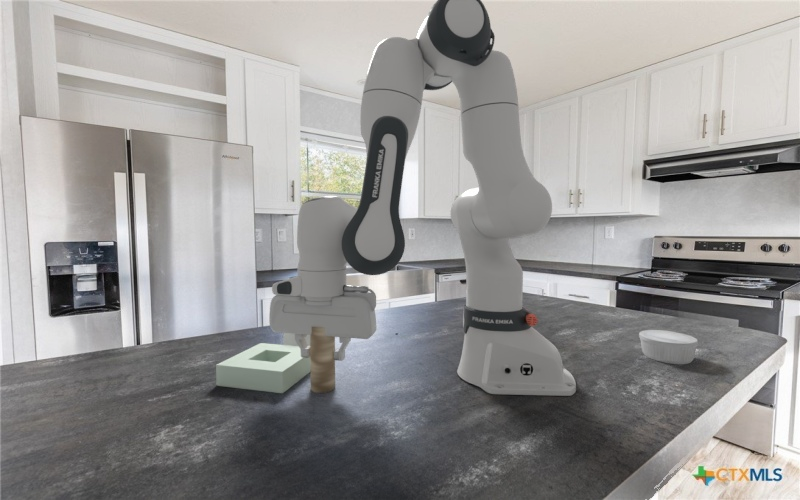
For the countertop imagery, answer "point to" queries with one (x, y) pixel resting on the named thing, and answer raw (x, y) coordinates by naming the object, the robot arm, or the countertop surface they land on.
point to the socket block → (264, 368)
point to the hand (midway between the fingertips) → (322, 358)
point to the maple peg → (322, 361)
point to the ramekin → (668, 346)
